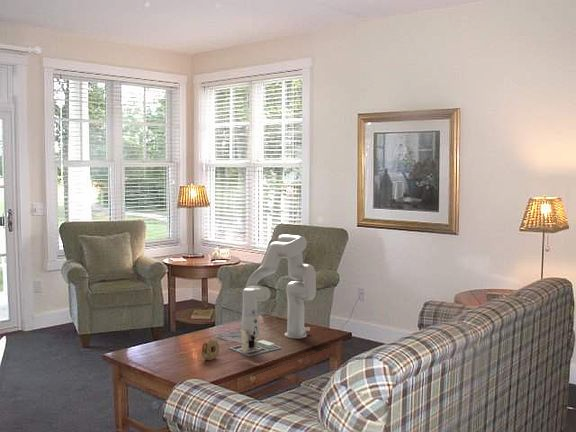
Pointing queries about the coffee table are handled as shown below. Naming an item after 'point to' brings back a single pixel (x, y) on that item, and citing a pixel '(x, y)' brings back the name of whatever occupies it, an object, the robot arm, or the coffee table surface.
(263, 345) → the upper offcut
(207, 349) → the tan rounded piece
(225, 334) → the picture frame
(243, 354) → the rack
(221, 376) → the coffee table surface
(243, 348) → the birch board
